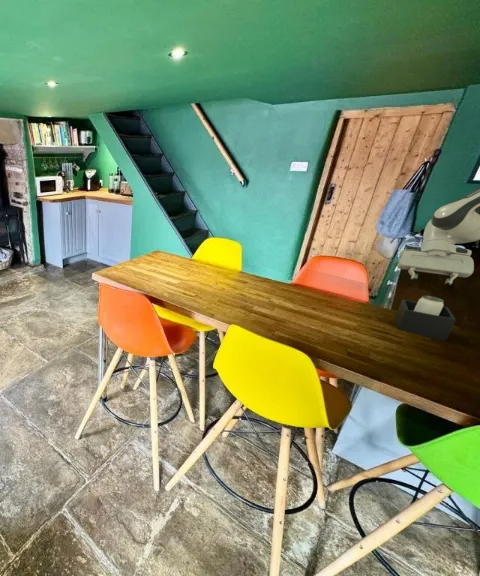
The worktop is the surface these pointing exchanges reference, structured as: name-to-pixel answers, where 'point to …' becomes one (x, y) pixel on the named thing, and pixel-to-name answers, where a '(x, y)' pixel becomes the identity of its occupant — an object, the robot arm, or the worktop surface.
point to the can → (429, 305)
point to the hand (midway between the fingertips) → (430, 281)
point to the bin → (424, 321)
